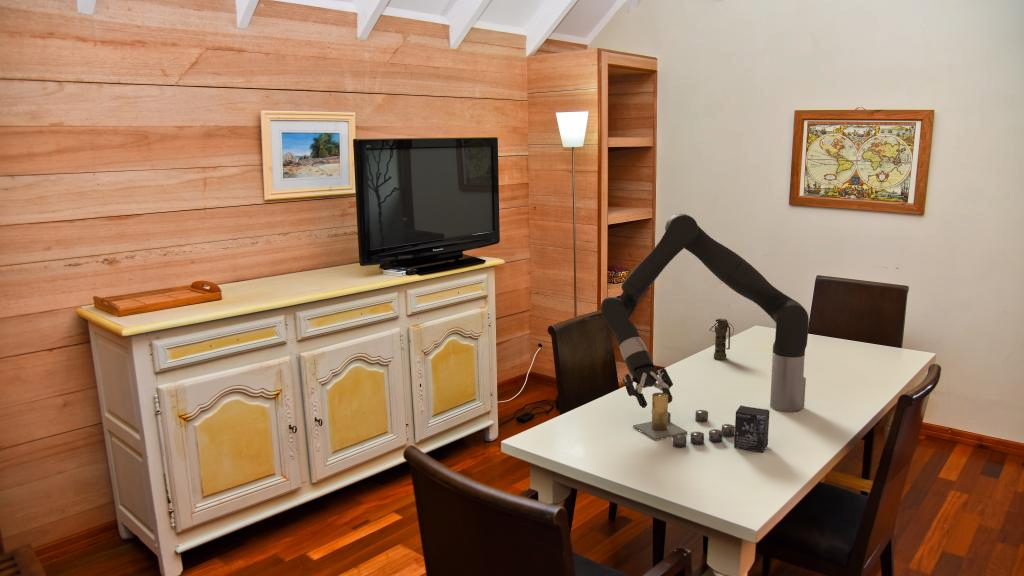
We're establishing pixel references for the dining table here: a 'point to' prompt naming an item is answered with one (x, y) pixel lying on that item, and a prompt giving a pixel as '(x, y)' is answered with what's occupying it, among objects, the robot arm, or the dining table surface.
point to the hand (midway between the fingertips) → (657, 404)
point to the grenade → (721, 338)
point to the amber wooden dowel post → (659, 411)
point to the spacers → (698, 437)
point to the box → (751, 428)
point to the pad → (655, 435)
